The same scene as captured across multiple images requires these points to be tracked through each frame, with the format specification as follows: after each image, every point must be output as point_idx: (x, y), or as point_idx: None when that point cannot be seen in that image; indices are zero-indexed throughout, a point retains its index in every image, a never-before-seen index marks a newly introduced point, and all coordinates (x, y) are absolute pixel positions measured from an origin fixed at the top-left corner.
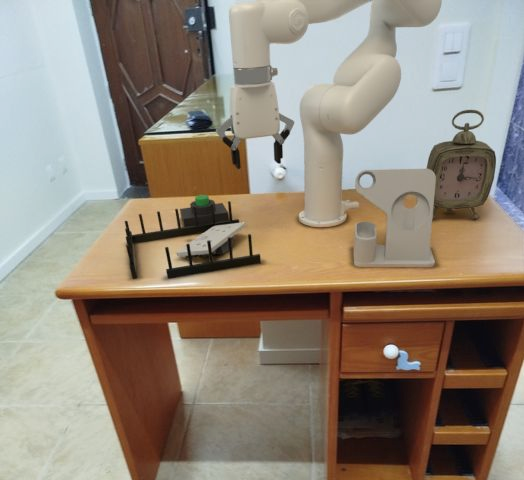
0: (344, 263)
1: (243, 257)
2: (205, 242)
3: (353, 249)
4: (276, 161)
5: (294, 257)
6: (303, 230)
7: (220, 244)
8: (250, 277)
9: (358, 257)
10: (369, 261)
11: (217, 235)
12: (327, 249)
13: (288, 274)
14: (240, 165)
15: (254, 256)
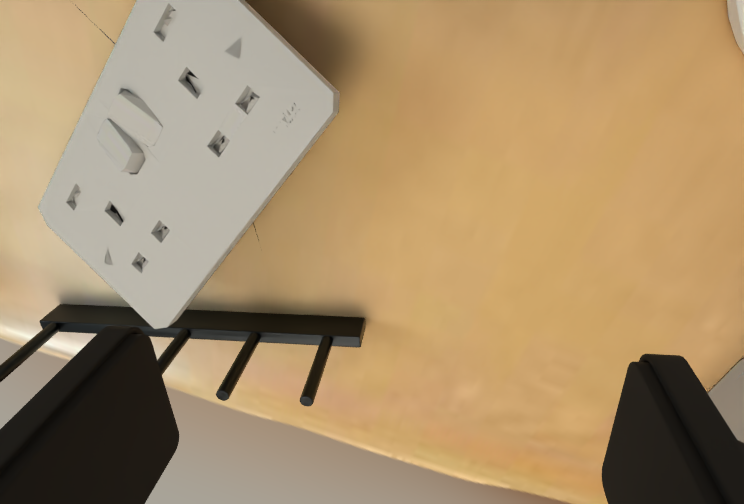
0: None
1: (298, 341)
2: (141, 228)
3: (733, 376)
4: (613, 445)
5: (495, 331)
6: (673, 85)
7: (205, 282)
8: None
9: None
10: None
11: (189, 185)
12: (649, 320)
13: (432, 417)
14: (166, 465)
15: (338, 345)
